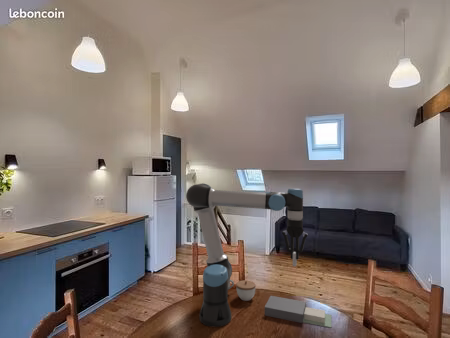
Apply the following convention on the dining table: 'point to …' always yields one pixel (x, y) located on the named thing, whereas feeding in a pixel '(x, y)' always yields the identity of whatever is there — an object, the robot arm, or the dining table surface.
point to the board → (285, 309)
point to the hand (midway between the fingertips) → (294, 265)
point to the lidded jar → (245, 289)
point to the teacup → (229, 284)
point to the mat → (326, 324)
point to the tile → (314, 315)
